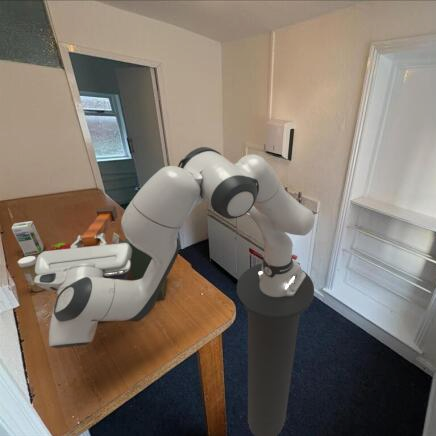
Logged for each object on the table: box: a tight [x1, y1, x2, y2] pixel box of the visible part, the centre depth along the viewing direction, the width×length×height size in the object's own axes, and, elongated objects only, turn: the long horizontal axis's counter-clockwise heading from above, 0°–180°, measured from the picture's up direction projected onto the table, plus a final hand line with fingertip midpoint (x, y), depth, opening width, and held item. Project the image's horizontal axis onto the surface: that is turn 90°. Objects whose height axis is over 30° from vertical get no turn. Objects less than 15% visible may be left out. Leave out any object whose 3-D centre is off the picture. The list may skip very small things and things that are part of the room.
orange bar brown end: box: [81, 205, 119, 247], centre depth 74 cm, size 20×4×4 cm, turn 21°
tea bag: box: [110, 232, 125, 244], centre depth 111 cm, size 4×7×10 cm, turn 54°
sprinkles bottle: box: [17, 255, 45, 293], centre depth 86 cm, size 5×5×14 cm
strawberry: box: [49, 241, 72, 251], centre depth 103 cm, size 6×8×10 cm
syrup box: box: [11, 220, 45, 257], centre depth 105 cm, size 6×6×14 cm
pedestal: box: [124, 237, 167, 302], centre depth 87 cm, size 12×8×26 cm, turn 21°
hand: (92, 235), depth 68 cm, fingers closed on orange bar brown end, 3 cm apart
